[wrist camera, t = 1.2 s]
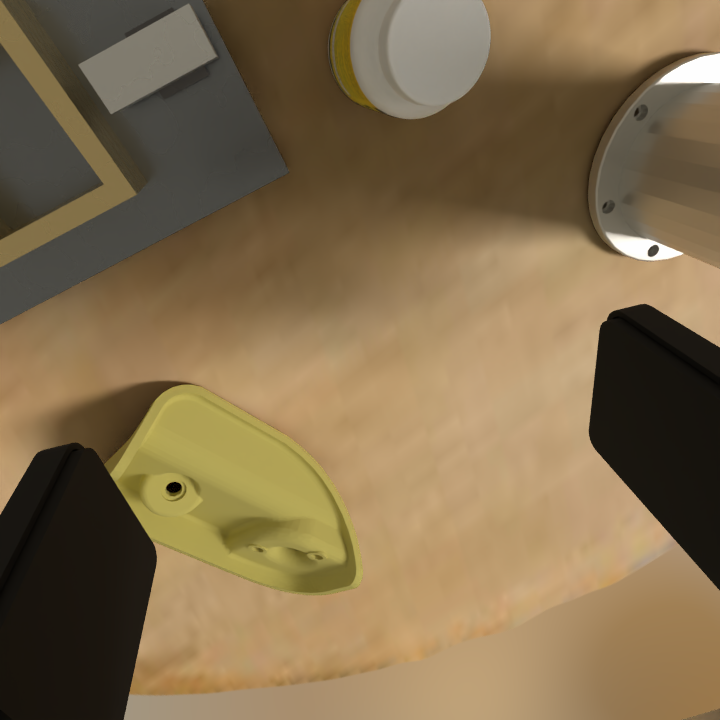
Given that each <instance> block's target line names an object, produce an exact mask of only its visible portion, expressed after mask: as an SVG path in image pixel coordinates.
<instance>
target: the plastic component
mask: <svg viewBox="0 0 720 720" xmlns="http://www.w3.org/2000/svg"><path fill="white" fill-rule="evenodd" d="M104 466H105V467H106V469H107V471H108V472H109V474H110V475H111V477H112V479H113V480H114V482H115V483H116V485H117V486H118V488H119V490H120V491H121V493H122V494H123V496H124V498H125V499H126V501H127V502H128V504H129V506H130V507H131V509H132V510H133V512H134V514H135V515H136V517H137V518H138V520H139V521H140V523H141V525H142V526H143V528H144V529H145V531H146V533H147V534H148V536H149V537H150V539H151V541H153V542H156V543H158V544H161V545H163V546H165V547H168V548H170V549H173V550H175V551H178V552H180V553H182V554H185V555H187V556H190V557H192V558H195V559H197V560H199V561H202V562H204V563H207V564H209V565H212V566H214V567H216V568H219V569H221V570H224V571H226V572H229V573H231V574H234V575H236V576H239V577H241V578H244V579H246V580H249V581H252V582H254V583H257V584H260V585H263V586H266V587H269V588H272V589H276V590H280V591H284V592H289V593H294V594H302V595H328V594H333V593H338V592H342V591H346V590H350V589H354V588H357V587H358V586H359V585H360V582H361V580H362V576H363V568H362V560H361V554H360V549H359V544H358V540H357V536H356V533H355V530H354V527H353V524H352V521H351V519H350V516H349V513H348V511H347V509H346V507H345V505H344V503H343V500H342V498H341V496H340V495H339V493H338V491H337V489H336V488H335V486H334V484H333V483H332V481H331V480H330V478H329V477H328V476H327V474H326V473H325V471H324V470H323V469H322V467H321V466H320V465H319V464H318V463H317V462H316V461H315V460H314V459H313V457H312V456H311V455H310V454H309V453H307V452H306V451H305V450H304V449H303V448H302V447H301V446H300V445H298V444H297V443H296V442H294V441H293V440H292V439H291V438H289V437H288V436H286V435H285V434H283V433H281V432H279V431H278V430H276V429H274V428H272V427H271V426H269V425H267V424H265V423H264V422H262V421H260V420H258V419H257V418H255V417H253V416H251V415H250V414H248V413H246V412H244V411H243V410H241V409H239V408H238V407H236V406H234V405H232V404H231V403H229V402H227V401H225V400H224V399H222V398H220V397H218V396H217V395H215V394H213V393H211V392H210V391H208V390H206V389H204V388H203V387H200V386H195V385H179V386H175V387H172V388H170V389H168V390H167V391H165V392H163V393H162V394H161V395H160V396H159V397H158V398H157V399H156V400H155V401H154V402H153V403H152V405H151V406H150V408H149V410H148V411H147V413H146V415H145V417H144V418H143V420H142V421H141V423H140V424H139V426H138V427H137V429H136V430H135V432H134V433H133V434H132V436H131V437H130V438H129V440H128V441H127V442H126V443H125V444H124V445H123V446H122V447H121V448H120V449H119V450H118V451H117V452H116V453H115V454H114V455H113V456H112V457H111V458H110V459H109V460H108V461H107V462H106V463H105V464H104ZM171 482H178V483H180V484H181V486H182V488H181V489H180V491H178V492H176V493H170V492H168V491H167V490H166V486H167V485H168V484H169V483H171Z"/></svg>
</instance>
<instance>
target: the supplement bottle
mask: <svg viewBox="0 0 720 720" xmlns="http://www.w3.org/2000/svg"><path fill="white" fill-rule="evenodd" d="M490 41H491V30H490V22H489V17H488V14H487V11H486V8H485V6H484V4H483V2H482V0H347V1H346V2H345V3H344V4H343V5H342V7H341V8H340V10H339V11H338V13H337V14H336V16H335V18H334V20H333V23H332V26H331V29H330V33H329V39H328V58H329V64H330V68H331V71H332V74H333V76H334V79H335V81H336V83H337V84H338V86H339V87H340V89H341V90H342V91H343V93H344V94H345V95H346V96H347V97H348V98H350V99H351V100H352V101H354V102H355V103H357V104H359V105H361V106H363V107H365V108H368V109H371V110H374V111H377V112H381V113H384V114H387V115H389V116H392V117H395V118H402V119H420V118H425V117H428V116H431V115H433V114H435V113H437V112H439V111H441V110H442V109H444V108H445V107H447V106H448V105H449V104H450V103H452V102H454V101H456V100H458V99H459V98H461V97H462V96H464V95H465V94H466V93H467V92H468V91H469V90H470V89H471V88H472V87H473V86H474V84H475V83H476V82H477V80H478V79H479V77H480V75H481V74H482V72H483V70H484V67H485V65H486V62H487V59H488V55H489V50H490Z"/></svg>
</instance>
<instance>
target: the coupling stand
mask: <svg viewBox="0 0 720 720" xmlns="http://www.w3.org/2000/svg"><path fill="white" fill-rule="evenodd" d="M287 173H289V170H288V168H287V166H286V164H285V162H284V160H283V158H282V156H281V154H280V152H279V150H278V148H277V146H276V144H275V142H274V140H273V138H272V136H271V134H270V132H269V130H268V128H267V126H266V124H265V122H264V120H263V118H262V116H261V114H260V112H259V110H258V108H257V106H256V104H255V102H254V100H253V98H252V96H251V95H250V93H249V91H248V89H247V87H246V85H245V83H244V81H243V79H242V77H241V75H240V73H239V71H238V69H237V67H236V65H235V63H234V61H233V59H232V57H231V55H230V53H229V51H228V49H227V47H226V45H225V43H224V41H223V39H222V37H221V35H220V33H219V31H218V29H217V27H216V25H215V23H214V21H213V19H212V17H211V15H210V13H209V11H208V9H207V7H206V5H205V3H204V1H203V0H0V324H2V323H4V322H6V321H8V320H9V319H11V318H13V317H15V316H17V315H19V314H21V313H23V312H25V311H27V310H29V309H30V308H32V307H34V306H36V305H38V304H40V303H42V302H44V301H46V300H48V299H49V298H51V297H53V296H55V295H57V294H59V293H61V292H63V291H65V290H67V289H69V288H70V287H72V286H74V285H76V284H78V283H80V282H82V281H84V280H86V279H88V278H89V277H91V276H93V275H95V274H97V273H99V272H101V271H103V270H105V269H107V268H109V267H110V266H112V265H114V264H116V263H118V262H120V261H122V260H124V259H126V258H128V257H129V256H131V255H133V254H135V253H137V252H139V251H141V250H143V249H145V248H147V247H148V246H150V245H152V244H154V243H156V242H158V241H160V240H162V239H164V238H166V237H168V236H169V235H171V234H173V233H175V232H177V231H179V230H181V229H183V228H185V227H187V226H188V225H190V224H192V223H194V222H196V221H198V220H200V219H202V218H204V217H206V216H208V215H209V214H211V213H213V212H215V211H217V210H219V209H221V208H223V207H225V206H227V205H228V204H230V203H232V202H234V201H236V200H238V199H240V198H242V197H244V196H246V195H248V194H249V193H251V192H253V191H255V190H257V189H259V188H261V187H263V186H265V185H267V184H268V183H270V182H272V181H274V180H276V179H278V178H280V177H282V176H284V175H286V174H287Z"/></svg>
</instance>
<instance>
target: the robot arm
mask: <svg viewBox="0 0 720 720" xmlns="http://www.w3.org/2000/svg"><path fill="white" fill-rule="evenodd" d="M588 202H589V211H590V216H591V219H592V222H593V225H594V228H595V229H596V231H597V233H598V234H599V236H600V237H601V239H602V240H603V241H604V242H605V243H606V244H607V245H608V246H609V247H611V248H612V249H613V250H615V251H617V252H619V253H621V254H623V255H625V256H627V257H630V258H633V259H636V260H640V261H660V260H667V259H670V258H674V257H677V256H680V255H683V254H686V255H688V256H691V257H693V258H695V259H698V260H700V261H703V262H705V263H707V264H710V265H712V266H715V267H717V268H719V269H720V52H712V53H699V54H696V55H692V56H689V57H685V58H682V59H680V60H678V61H676V62H674V63H672V64H670V65H668V66H666V67H664V68H662V69H661V70H659V71H658V72H657V73H655V74H654V75H653V76H651V77H650V78H649V79H647V80H646V81H645V82H643V83H642V84H641V85H640V86H639V87H638V88H637V89H636V90H635V91H634V92H633V93H632V94H631V95H630V97H629V98H628V99H627V100H626V101H625V102H624V104H623V105H622V106H621V108H620V109H619V110H618V112H617V113H616V114H615V116H614V117H613V119H612V121H611V122H610V124H609V126H608V128H607V129H606V131H605V133H604V135H603V136H602V139H601V141H600V144H599V146H598V149H597V151H596V154H595V156H594V160H593V164H592V168H591V172H590V176H589V187H588ZM589 437H590V440H591V443H592V445H593V447H594V448H595V450H596V451H597V452H598V453H599V454H600V455H601V457H602V458H603V459H604V460H605V461H606V462H607V463H608V464H609V466H610V467H611V468H612V469H613V470H614V471H615V472H616V474H617V475H618V476H619V477H620V478H621V479H622V480H623V481H624V483H625V484H626V485H627V486H628V487H629V488H630V489H631V490H632V492H633V493H634V494H635V495H636V496H637V497H638V498H639V500H640V501H641V502H642V503H643V504H644V505H645V506H646V507H647V509H648V510H649V511H650V512H651V513H652V514H653V515H654V517H655V518H656V519H657V520H658V521H659V522H660V523H661V524H662V526H663V527H664V528H665V529H666V530H667V531H668V532H669V534H670V535H671V536H672V537H673V538H674V539H675V540H676V541H677V543H678V544H679V545H680V546H681V547H682V548H683V549H684V550H685V552H686V553H687V554H688V555H689V556H690V557H691V558H692V560H693V561H694V562H695V563H696V564H697V565H698V566H699V568H700V569H701V570H702V571H703V572H704V573H705V574H706V575H707V577H708V578H709V579H710V580H711V581H712V582H713V583H714V585H715V586H716V587H717V588H718V589H719V590H720V347H718V346H716V345H715V344H713V343H711V342H710V341H708V340H706V339H705V338H703V337H701V336H700V335H698V334H696V333H695V332H693V331H691V330H690V329H688V328H686V327H685V326H683V325H681V324H680V323H678V322H677V321H675V320H673V319H672V318H670V317H668V316H667V315H665V314H663V313H662V312H660V311H658V310H657V309H655V308H653V307H652V306H650V305H647V304H640V305H636V306H632V307H628V308H624V309H620V310H616V311H613V312H611V313H610V314H609V316H608V318H607V321H605V322H603V323H602V325H601V327H600V332H599V341H598V351H597V360H596V369H595V378H594V388H593V397H592V406H591V415H590V425H589ZM156 563H157V555H156V549H155V546H154V544H153V542H152V541H151V539H150V537H149V536H148V534H147V533H146V531H145V529H144V528H143V526H142V525H141V523H140V521H139V520H138V518H137V517H136V515H135V514H134V512H133V510H132V509H131V507H130V506H129V504H128V502H127V501H126V499H125V498H124V496H123V494H122V493H121V491H120V490H119V488H118V486H117V485H116V483H115V482H114V480H113V479H112V477H111V475H110V474H109V472H108V471H107V469H106V467H105V466H104V464H103V463H102V461H101V459H100V458H99V456H98V455H97V453H96V452H95V451H94V450H93V449H91V448H84V447H83V446H82V445H80V444H79V443H71V444H67V445H62V446H58V447H54V448H50V449H46V450H42V451H40V452H38V453H37V454H36V456H35V457H34V458H33V460H32V462H31V464H30V465H29V467H28V469H27V470H26V472H25V474H24V475H23V477H22V479H21V481H20V482H19V484H18V486H17V487H16V489H15V491H14V493H13V494H12V496H11V498H10V499H9V501H8V503H7V504H6V506H5V508H4V510H3V511H2V513H1V515H0V720H124V715H125V711H126V706H127V701H128V696H129V692H130V687H131V682H132V677H133V673H134V668H135V663H136V658H137V654H138V649H139V644H140V640H141V635H142V630H143V625H144V621H145V616H146V611H147V606H148V602H149V597H150V592H151V587H152V583H153V578H154V573H155V569H156ZM683 720H720V709H717V710H714V711H710V712H707V713H704V714H700V715H697V716H693V717H690V718H687V719H683Z"/></svg>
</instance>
